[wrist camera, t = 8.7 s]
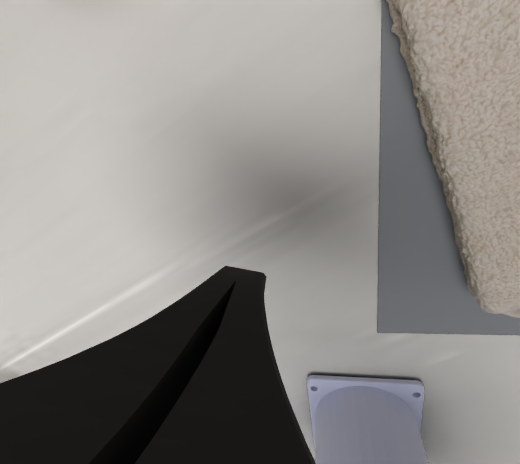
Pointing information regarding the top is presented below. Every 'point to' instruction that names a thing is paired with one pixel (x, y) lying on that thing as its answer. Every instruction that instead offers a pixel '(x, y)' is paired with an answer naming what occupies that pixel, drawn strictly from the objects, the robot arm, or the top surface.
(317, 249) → the top surface
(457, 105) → the washcloth
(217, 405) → the robot arm
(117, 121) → the top surface
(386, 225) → the placemat
